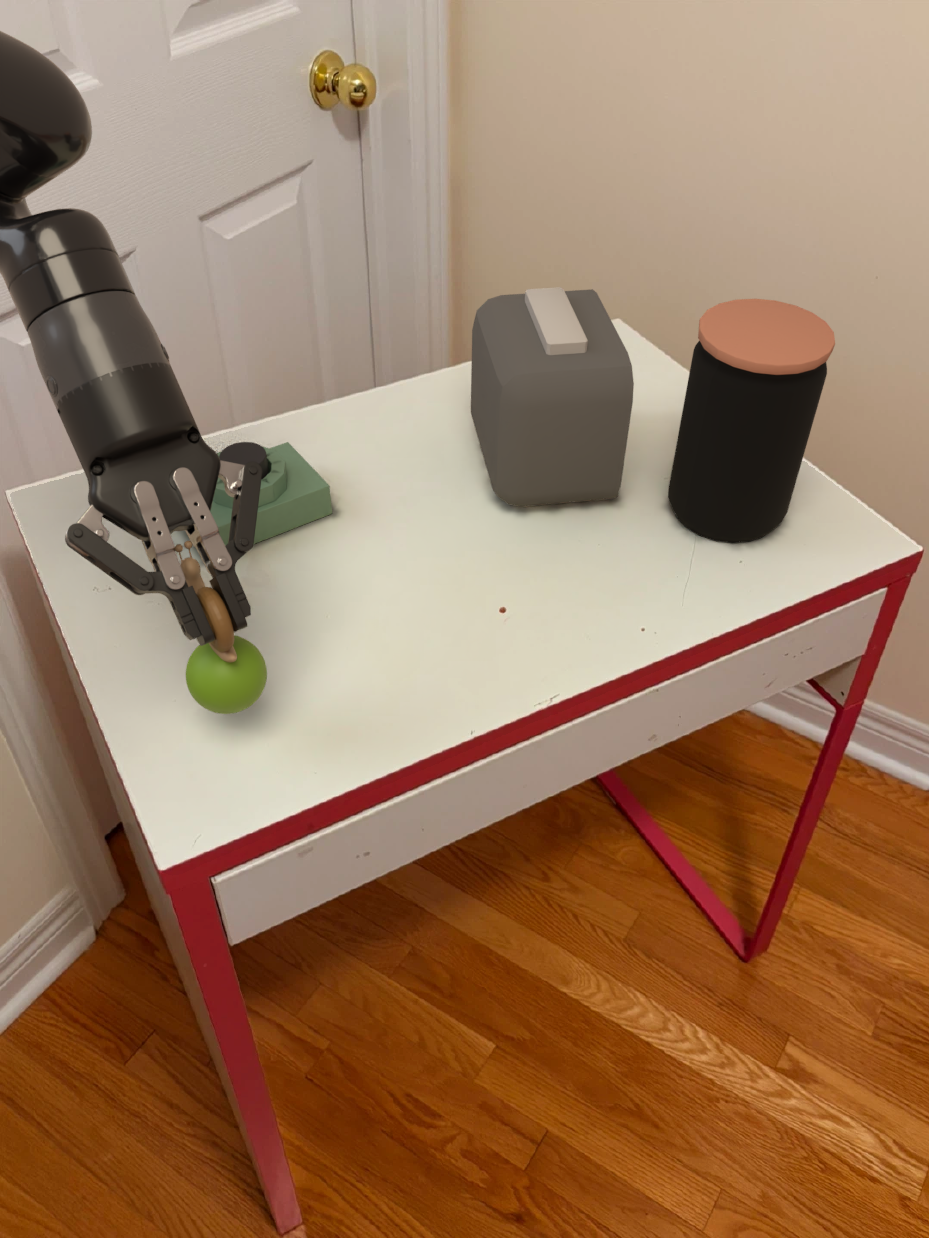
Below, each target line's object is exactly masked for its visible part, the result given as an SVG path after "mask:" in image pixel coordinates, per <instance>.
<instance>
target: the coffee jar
mask: <svg viewBox="0 0 929 1238" xmlns="http://www.w3.org/2000/svg"><path fill="white" fill-rule="evenodd" d="M697 331H698V332H697V333H698V334H697V339H698V342H696V344H695V345H694V348H693V352H692V355H691V356H692V357H691V362H690V368H689V373H688V377H687V383H686V390H685V394H684V400H683V406H682V412H681V417H680V422H679V429H678V433H677V439H676V445H675V450H674V455H673V459H672V460H673V461H672V465H671V472H670V476H669V482H668V490H667V491H668V492H667V499H668V502H669V504H670V507H671V509H672V511H673V513H674V514H675V516H676V518H677V520H678V521H679V522H680V523H681V524H682V525H683V526H684V527H685V528H686V529H688V530H689V531H691V532H693V533H695V534H696V535H698V536H699V537H703V538H706V539H709V540H712V541H716V542H722V543H730V544H737V543H738V544H739V543H749V542H752V541H755V540H758V539H761V538H764V537H765V536H766V535H768V534H770V533H771V532H772V531H773V530H775V529H776V528H777V527H779V526H780V525H781V524H782V523H783V521H784V519H785V518H786V515H787V514H788V512H789V508H790V504H791V501H792V497H793V493H794V490H795V486H796V484H797V480H798V476H799V473H800V469H801V465H802V462H803V459H804V455H805V452H806V449H807V445H808V441H809V438H810V435H811V432H812V427H813V424H814V421H815V417H816V413H817V410H818V407H819V403H820V400H821V396H822V392H823V389H824V387H825V386H824V385H825V382H826V379H827V375H828V365H827V362H828V361H829V358H830V357H831V355H832V353H833V351H834V348H835V346H836V339H835V332H834V330H833V329H832V327H831V326H830V325H829V323H828V322H827V321H826V320H824V319H823V318H821V317H820V316H818V315H817V314H815V313H814V312H813V311H810V310H807V309H805V308H803V307H800V306H798V305H795V304H791V303H787V302H783V301H779V300H774V299H773V300H772V299H764V298H742V299H740V298H739V299H738V298H737V299H732V300H728V301H724V302H720V303H718V304H715V305H714V306H712V307H710V308H708V309H706V311H705V312H704V313H703V314H702V315H701V316H700V318H699V321H698V330H697Z"/></svg>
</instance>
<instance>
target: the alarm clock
mask: <svg viewBox="0 0 929 1238" xmlns="http://www.w3.org/2000/svg"><path fill="white" fill-rule="evenodd" d="M608 313H609V312H607V309H606V308H605V306H604V304H603V302H602V300H601V298H600V296H599V294H598V292H597V291H595V290H594V289H593V288H592V289H591V288H590V289H578V290H577V289H576V290H565V289H564V288H563V287H561V286H559V287H558V286H557V287H542V288H527V289H526V290H525V292H524V293H513V294H500V295H497V296H494V297H491V298H488V299H487V300H485V301H484V302H483V303H482V304H481V306H480V307H479V308H477V309H476V312H475V315H474V320H473V324H472V329H471V372H470V375H471V376H470V384H471V385H470V415H471V418H472V422H473V425H474V429H475V433H476V436H477V440H478V442H479V446H480V451H481V454H482V457H483V460H484V464H485V468H486V471H487V475H488V478H489V481H490V485H491V488H492V491H493V492H494V494H495V495H496V496H497V497H498V498H499V499H500V500H502V501H503V502H505V503H506V504H507V505H508V506H515V507H523V508H525V507H535V506H548V505H557V504H558V505H559V504H569V503H579V502H580V503H582V502H593V501H602V500H613V499H616V498H618V497H619V494H620V491H621V487H622V480H623V473H624V467H625V466H624V465H625V458H626V453H627V444H628V438H629V430H630V424H631V417H632V411H633V410H632V409H633V403H634V387H635V386H634V385H635V383H634V373H633V365H632V362H631V359H630V356H629V352H628V350H627V348H626V346H625V344H624V342H623V340H622V338H621V336H620V334H619V333H618V330H617V329H616V328H615V327H616V326H615V325H614V323H613V321H612V320H611V317H610V315H609V314H608Z"/></svg>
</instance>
